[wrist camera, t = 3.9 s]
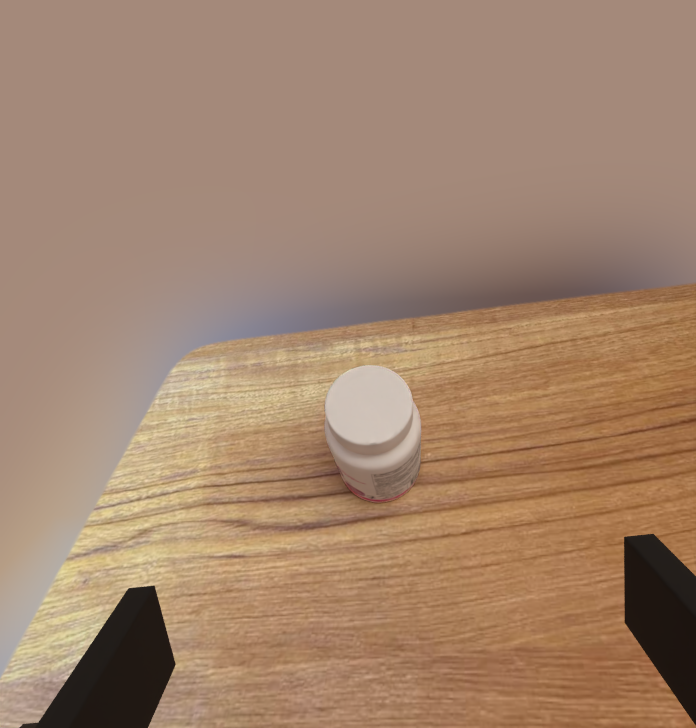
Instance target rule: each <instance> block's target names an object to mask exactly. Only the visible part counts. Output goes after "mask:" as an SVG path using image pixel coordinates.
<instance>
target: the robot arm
mask: <svg viewBox="0 0 696 728" xmlns="http://www.w3.org/2000/svg"><path fill="white" fill-rule="evenodd" d="M624 574H625V624H626V625H627V626H628V628H629V629H630V631H631V632H632V634H633V635H634V637H635V638H636V639H637V641H638V642H639V644H640V645H641V647H642V648H643V650H644V651H645V653H646V654H647V655H648V657H649V658H650V660H651V661H652V663H653V664H654V666H655V667H656V668H657V670H658V671H659V673H660V674H661V676H662V677H663V679H664V680H665V682H666V683H667V684H668V686H669V687H670V689H671V690H672V692H673V693H674V695H675V696H676V697H677V699H678V700H679V702H680V703H681V705H682V706H683V708H684V709H685V710H686V712H687V713H688V715H689V716H690V718H691V719H692V721H693V722H694V724H695V725H696V576H695V575H694V574H693V573H692V572H691V571H690V570H689V569H688V568H687V567H686V566H685V565H684V564H683V563H682V562H681V561H680V560H679V559H678V558H677V557H676V556H675V555H674V554H673V553H672V552H671V551H670V550H669V549H668V548H667V547H666V546H665V545H664V544H663V543H662V542H661V541H660V540H659V539H658V538H657V537H656V536H655V535H654V534H648V535H638V536H628V537H624ZM175 665H176V664H175V661H174V657H173V653H172V649H171V646H170V642H169V638H168V635H167V631H166V627H165V623H164V620H163V616H162V612H161V608H160V605H159V601H158V597H157V594H156V590H155V586H147V587H137V588H128V590H127V591H126V593H125V594H124V596H123V597H122V599H121V600H120V602H119V603H118V605H117V606H116V608H115V609H114V611H113V612H112V614H111V615H110V617H109V618H108V620H107V621H106V623H105V624H104V626H103V627H102V629H101V630H100V632H99V633H98V635H97V636H96V638H95V639H94V641H93V642H92V644H91V645H90V647H89V648H88V650H87V651H86V653H85V654H84V656H83V657H82V658H81V660H80V661H79V663H78V664H77V666H76V667H75V669H74V670H73V672H72V673H71V675H70V676H69V678H68V679H67V681H66V682H65V684H64V685H63V687H62V688H61V690H60V691H59V693H58V694H57V696H56V697H55V699H54V700H53V702H52V703H51V705H50V706H49V708H48V709H47V711H46V712H45V714H44V715H43V717H42V718H41V720H40V721H39V723H31V724H23V725H22V726H21V727H20V728H148V726H149V724H150V722H151V719H152V717H153V715H154V713H155V710H156V708H157V706H158V704H159V701H160V699H161V697H162V694H163V692H164V690H165V688H166V685H167V683H168V681H169V679H170V676H171V674H172V672H173V669H174V667H175Z"/></svg>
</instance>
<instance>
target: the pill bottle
mask: <svg viewBox="0 0 696 728" xmlns="http://www.w3.org/2000/svg"><path fill="white" fill-rule="evenodd" d="M325 415H326V418H325V436H326V440H327V444H328V446H329V449H330V451H331V453H332V455H333V458H334V460H335V463H336V465H337V467H338V470H339V472H340V474H341V477H342V479H343V481H344V483H345V484H346V486H347V487H348V488H349V489H350V491H352V492H353V493H354V494H355V495H356V496H358V497H360V498H362V499H364V500H367V501H370V502H378V503H381V502H388V501H392V500H395V499H397V498H399V497H401V496H402V495H404V494H405V493H407V492H408V491H409V490H410V489H411V487H412V486H413V484H414V483H415V481H416V479H417V477H418V474H419V470H420V461H421V419H420V415H419V412H418V409H417V407H416V405H415V403H414V401H413V399H412V395H411V392H410V389H409V387H408V385H407V384H406V382H405V381H404V380H403V379H402V378H401V377H400V376H399V375H398V374H397V373H395V372H394V371H392V370H390V369H388V368H385V367H381V366H376V365H364V366H359V367H355V368H352V369H350V370H348V371H346V372H345V373H343V374H341V375H340V376H339V377H338V378H337V379H336V380H335V381H334V382H333V384H332V385H331V387H330V388H329V390H328V393H327V395H326V400H325Z"/></svg>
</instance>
